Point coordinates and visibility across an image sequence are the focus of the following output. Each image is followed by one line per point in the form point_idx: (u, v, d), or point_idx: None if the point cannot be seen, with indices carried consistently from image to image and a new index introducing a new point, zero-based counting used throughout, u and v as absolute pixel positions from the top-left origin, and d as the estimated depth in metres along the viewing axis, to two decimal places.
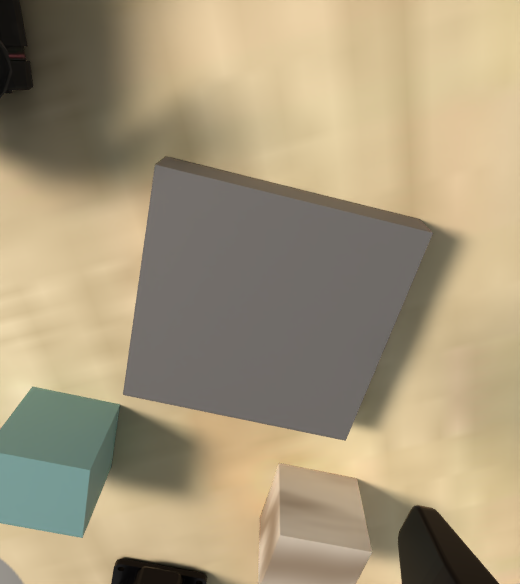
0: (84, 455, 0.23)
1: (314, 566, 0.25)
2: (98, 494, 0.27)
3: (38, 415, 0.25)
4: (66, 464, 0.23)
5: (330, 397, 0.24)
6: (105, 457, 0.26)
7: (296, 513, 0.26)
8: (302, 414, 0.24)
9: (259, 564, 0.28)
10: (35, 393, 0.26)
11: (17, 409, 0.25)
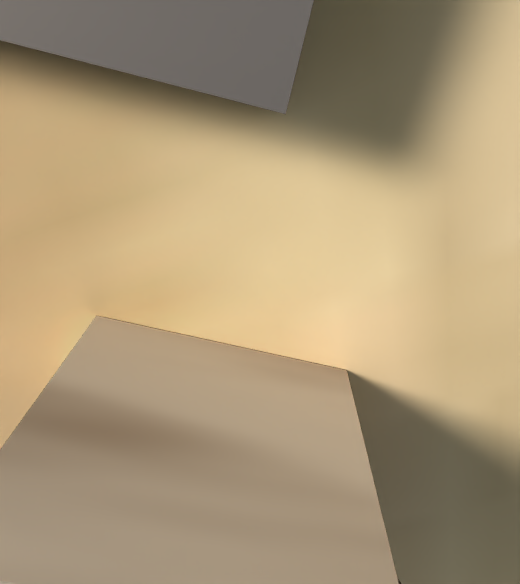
0: None
1: None
2: None
3: None
4: None
5: None
6: None
7: (76, 464, 0.06)
8: None
9: None
10: None
11: None
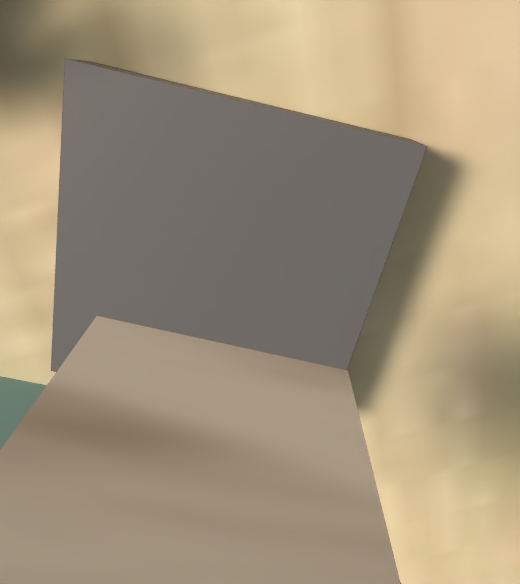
0: (0, 446, 0.19)
1: None
2: None
3: None
4: None
5: None
6: None
7: (76, 465, 0.06)
8: None
9: None
10: None
11: None
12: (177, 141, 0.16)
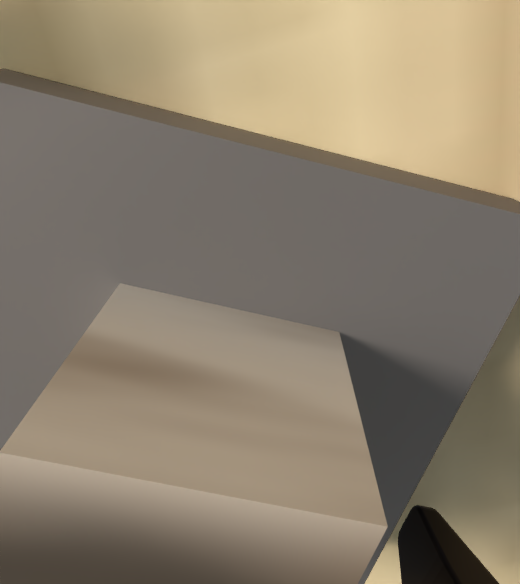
0: None
1: (168, 582, 0.07)
2: None
3: None
4: None
5: None
6: None
7: (113, 391, 0.07)
8: None
9: None
10: None
11: None
12: (145, 207, 0.10)
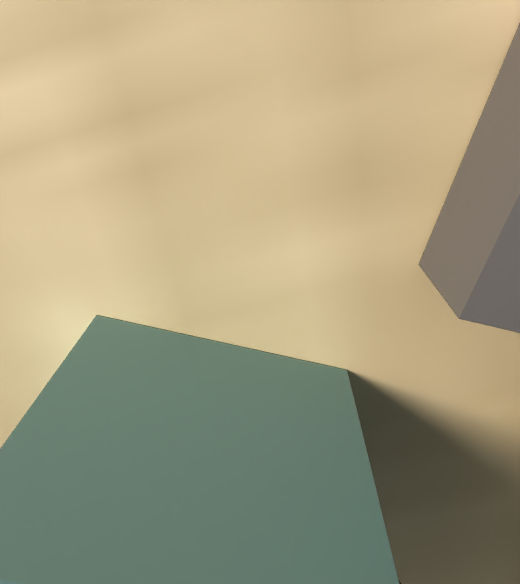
0: (351, 566, 0.06)
1: None
2: None
3: (132, 399, 0.07)
4: None
5: None
6: None
7: None
8: None
9: None
10: (108, 333, 0.08)
11: (57, 380, 0.07)
12: None
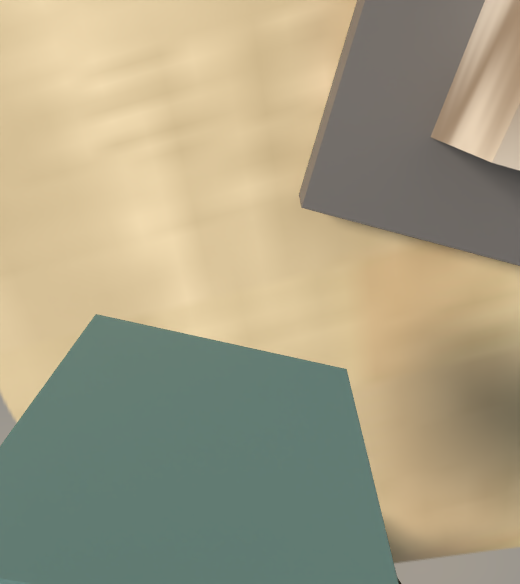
0: (350, 565, 0.06)
1: None
2: None
3: (131, 399, 0.07)
4: None
5: None
6: None
7: None
8: None
9: (472, 143, 0.13)
10: (107, 332, 0.08)
11: (56, 378, 0.07)
12: None
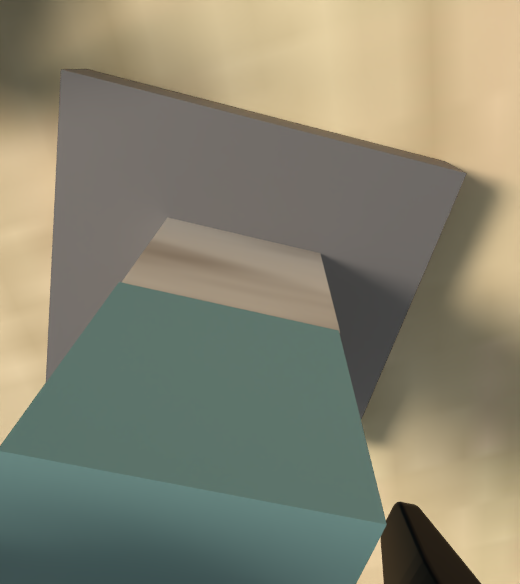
0: (337, 468, 0.07)
1: None
2: None
3: (153, 346, 0.08)
4: (299, 502, 0.06)
5: None
6: None
7: (176, 266, 0.12)
8: None
9: None
10: (130, 296, 0.10)
11: (90, 329, 0.08)
12: (186, 163, 0.14)
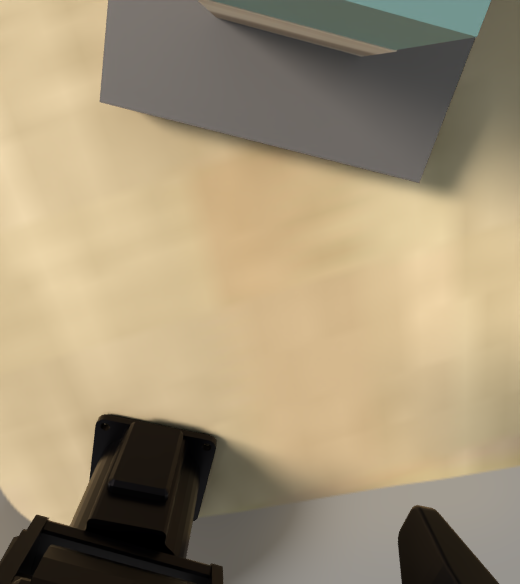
0: None
1: None
2: None
3: None
4: None
5: (402, 101, 0.16)
6: None
7: None
8: (359, 134, 0.17)
9: None
10: None
11: None
12: None
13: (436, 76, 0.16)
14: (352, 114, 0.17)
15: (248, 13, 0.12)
